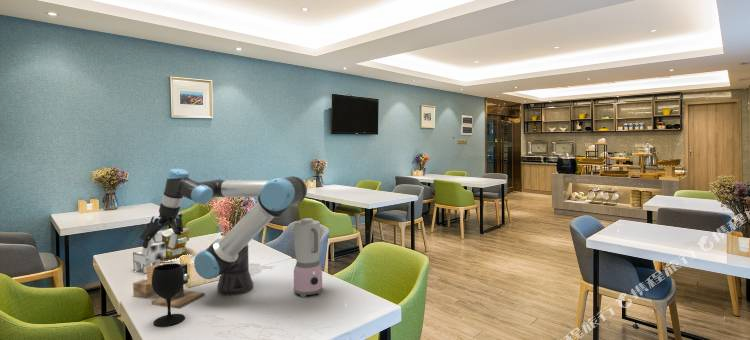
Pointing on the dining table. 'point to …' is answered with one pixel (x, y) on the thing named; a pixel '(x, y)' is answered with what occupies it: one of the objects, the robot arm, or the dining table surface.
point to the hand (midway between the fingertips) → (158, 250)
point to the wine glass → (168, 290)
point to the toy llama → (150, 254)
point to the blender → (307, 257)
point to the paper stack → (176, 244)
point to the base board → (180, 299)
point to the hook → (150, 272)
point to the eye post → (181, 292)
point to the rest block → (142, 289)
